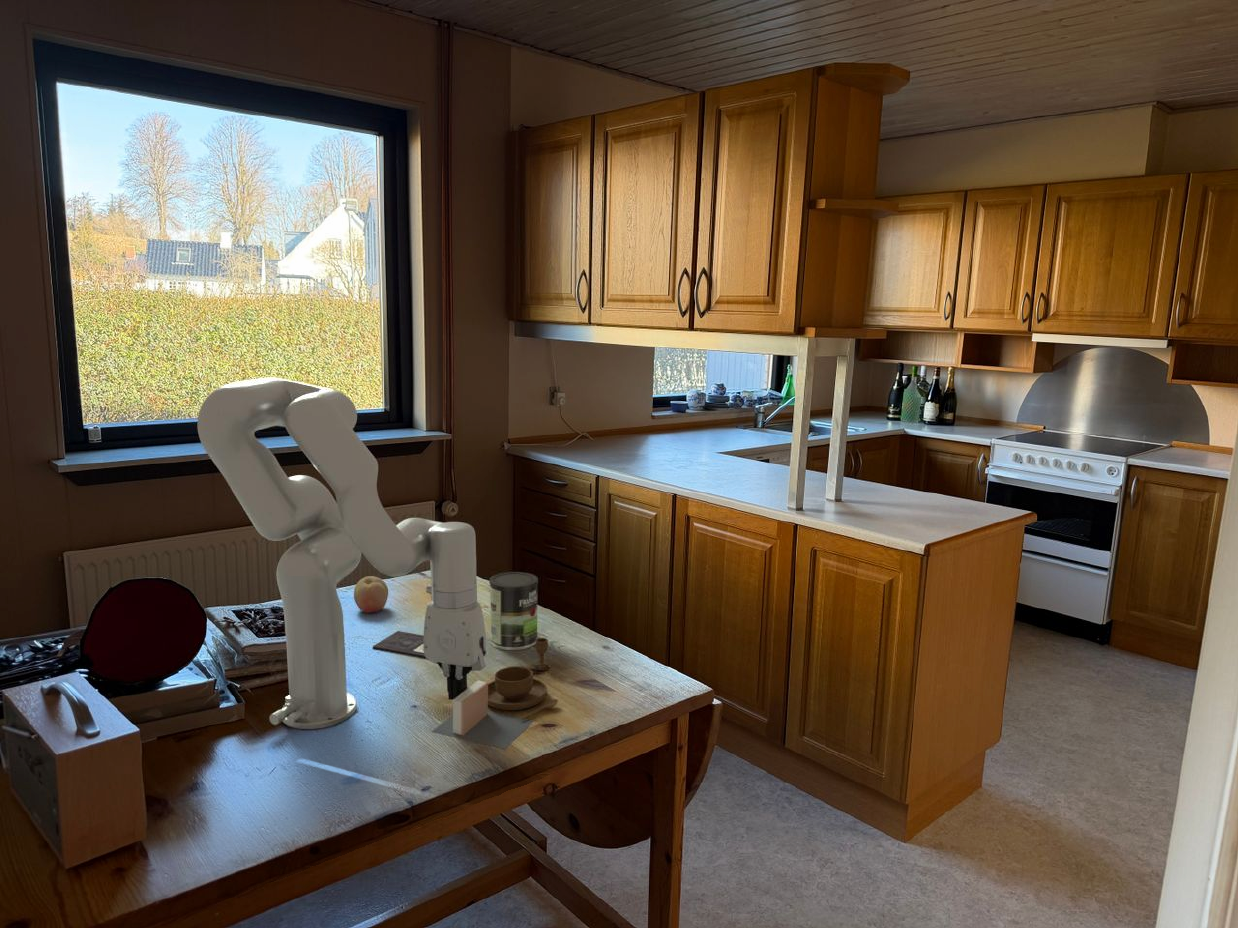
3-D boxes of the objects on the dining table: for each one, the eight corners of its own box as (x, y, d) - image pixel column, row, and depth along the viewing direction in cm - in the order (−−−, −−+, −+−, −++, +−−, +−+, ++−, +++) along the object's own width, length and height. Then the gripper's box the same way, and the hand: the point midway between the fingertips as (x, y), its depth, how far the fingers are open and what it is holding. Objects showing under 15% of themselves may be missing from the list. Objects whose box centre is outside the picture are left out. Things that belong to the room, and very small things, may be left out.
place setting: (459, 694, 154) (458, 664, 153) (541, 663, 168) (540, 635, 167) (518, 724, 142) (517, 692, 141) (601, 688, 156) (601, 658, 155)
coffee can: (547, 638, 181) (547, 576, 178) (519, 654, 172) (519, 590, 169) (509, 628, 186) (508, 568, 183) (480, 644, 177) (479, 581, 174)
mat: (505, 752, 134) (504, 748, 134) (432, 734, 139) (431, 731, 139) (533, 724, 144) (533, 721, 144) (463, 708, 149) (463, 705, 149)
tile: (463, 735, 138) (463, 702, 137) (453, 732, 139) (453, 699, 138) (487, 713, 146) (488, 682, 144) (477, 711, 146) (478, 680, 145)
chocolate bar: (397, 630, 182) (469, 643, 176) (397, 634, 182) (469, 647, 176) (372, 646, 173) (447, 660, 167) (372, 650, 173) (447, 664, 168)
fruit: (349, 616, 191) (347, 583, 189) (360, 604, 199) (359, 572, 197) (383, 617, 191) (381, 584, 189) (393, 605, 198) (392, 573, 197)
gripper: (403, 597, 138) (408, 698, 142) (481, 609, 133) (484, 714, 136) (429, 583, 145) (433, 680, 149) (504, 594, 140) (506, 695, 143)
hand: (457, 696), depth 143 cm, fingers closed
